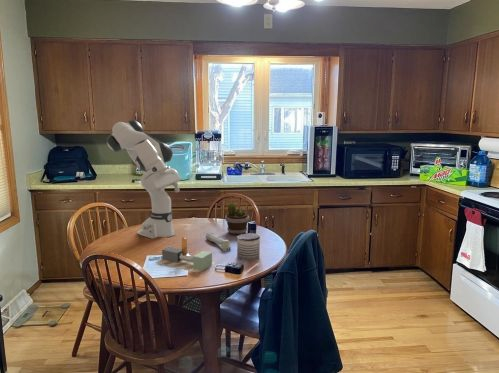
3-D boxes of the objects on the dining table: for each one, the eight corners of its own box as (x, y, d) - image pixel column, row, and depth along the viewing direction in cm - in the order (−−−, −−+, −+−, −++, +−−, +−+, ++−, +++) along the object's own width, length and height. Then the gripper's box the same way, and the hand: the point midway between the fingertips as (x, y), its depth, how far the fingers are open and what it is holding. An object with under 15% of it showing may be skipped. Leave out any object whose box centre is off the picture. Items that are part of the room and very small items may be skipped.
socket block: (193, 268, 175) (193, 256, 174) (203, 262, 182) (203, 250, 181) (202, 270, 172) (202, 258, 171) (212, 264, 179) (211, 252, 178)
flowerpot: (248, 228, 239) (249, 197, 235) (249, 236, 224) (249, 203, 220) (225, 228, 238) (225, 197, 234) (224, 236, 223) (224, 203, 219)
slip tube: (166, 257, 185) (165, 235, 183) (170, 255, 187) (169, 234, 185) (193, 263, 178) (192, 241, 176) (196, 261, 180) (196, 239, 178)
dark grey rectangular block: (162, 259, 185) (162, 249, 184) (169, 256, 189) (168, 246, 188) (177, 262, 181) (177, 253, 180) (183, 259, 185) (183, 249, 184)
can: (242, 263, 183) (242, 240, 181) (233, 255, 194) (233, 233, 191) (263, 260, 188) (263, 237, 186) (254, 252, 198) (254, 230, 196)
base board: (155, 264, 181) (155, 262, 181) (174, 254, 194) (174, 253, 193) (198, 275, 170) (198, 272, 170) (215, 264, 182) (215, 262, 182)
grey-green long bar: (212, 232, 220) (232, 238, 198) (213, 243, 220) (233, 251, 198) (204, 233, 217) (223, 240, 195) (205, 244, 218) (224, 252, 196)
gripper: (166, 168, 194) (180, 191, 193) (139, 177, 176) (155, 202, 175) (174, 162, 191) (188, 186, 190) (147, 170, 173) (163, 196, 172)
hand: (172, 194), depth 183 cm, fingers open, 8 cm apart
